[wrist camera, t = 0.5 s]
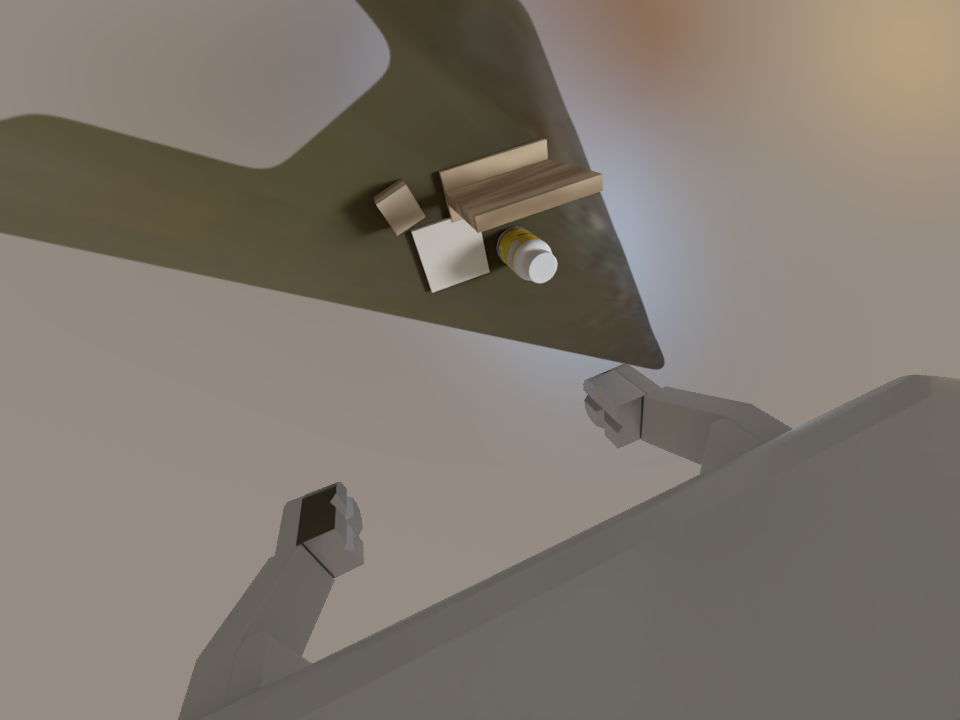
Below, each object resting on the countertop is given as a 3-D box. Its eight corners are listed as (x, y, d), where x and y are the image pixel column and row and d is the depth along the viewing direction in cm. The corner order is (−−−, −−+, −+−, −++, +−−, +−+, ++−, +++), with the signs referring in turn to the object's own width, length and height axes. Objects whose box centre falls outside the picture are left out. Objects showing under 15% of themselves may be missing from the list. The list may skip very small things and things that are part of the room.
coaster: (410, 230, 45) (411, 231, 44) (474, 208, 46) (476, 210, 45) (431, 290, 51) (432, 292, 50) (487, 270, 52) (489, 272, 51)
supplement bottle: (536, 234, 51) (570, 257, 43) (517, 267, 53) (547, 295, 46) (507, 218, 48) (538, 240, 41) (489, 254, 50) (515, 280, 43)
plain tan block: (373, 197, 41) (376, 204, 38) (400, 178, 41) (406, 184, 38) (394, 227, 44) (398, 236, 41) (420, 209, 44) (426, 217, 41)
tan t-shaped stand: (438, 171, 42) (469, 192, 32) (542, 138, 43) (603, 149, 34) (451, 220, 46) (482, 253, 36) (546, 188, 47) (602, 211, 37)
